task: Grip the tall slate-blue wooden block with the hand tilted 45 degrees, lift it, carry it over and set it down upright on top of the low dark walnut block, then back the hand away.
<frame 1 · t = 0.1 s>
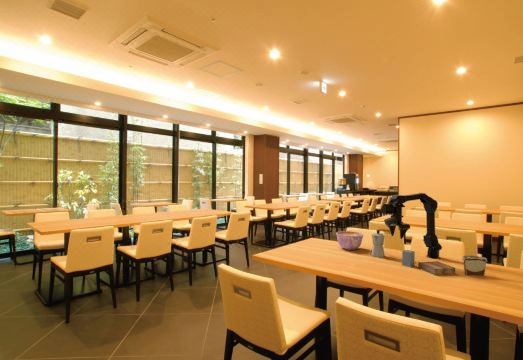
hand: (396, 237, 192), 15 cm above the table, tool pointing down, fingers open, 9 cm apart
slate block: (408, 265, 178), on the table
food container: (471, 274, 163), on the table
walnut block: (436, 271, 168), on the table
bowl of food: (349, 248, 220), on the table
coffee maker: (378, 255, 201), on the table
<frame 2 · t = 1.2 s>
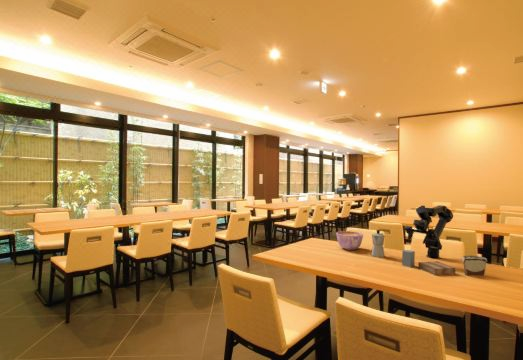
hand: (415, 241, 183), 14 cm above the table, tool tilted 45°, fingers open, 9 cm apart
nothing on the table moved.
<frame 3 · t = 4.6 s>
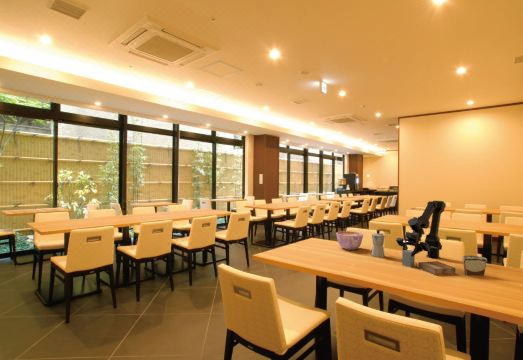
hand: (407, 255, 177), 7 cm above the table, tool tilted 45°, fingers closed on slate block, 5 cm apart
slate block: (408, 265, 178), on the table, touching gripper
everything else where it was.
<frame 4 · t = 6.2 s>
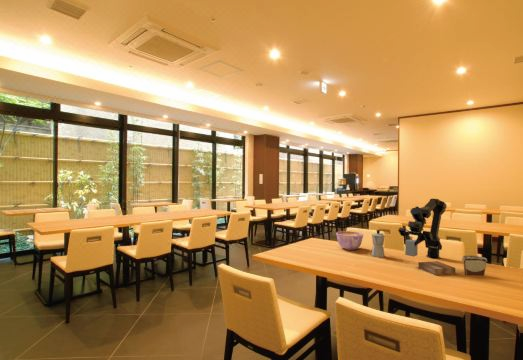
hand: (410, 244, 176), 13 cm above the table, tool tilted 45°, fingers closed on slate block, 5 cm apart
slate block: (411, 255, 176), point 7 cm above the table, touching gripper
everything else where it was.
when the fingers open (12 cm above the table, at t = 8.0 s): slate block drops 2 cm, resting on walnut block.
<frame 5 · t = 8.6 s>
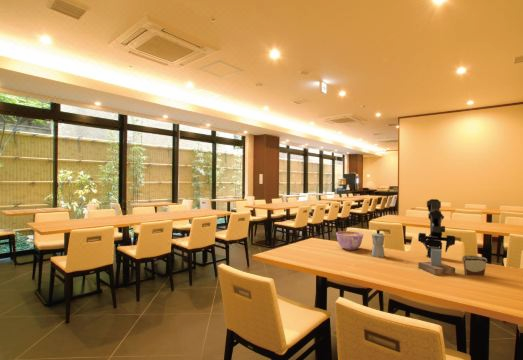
hand: (436, 250, 166), 12 cm above the table, tool tilted 45°, fingers open, 9 cm apart
slate block: (435, 264, 168), point 4 cm above the table, touching walnut block
walnut block: (436, 271, 168), on the table, touching slate block
everything else where it was.
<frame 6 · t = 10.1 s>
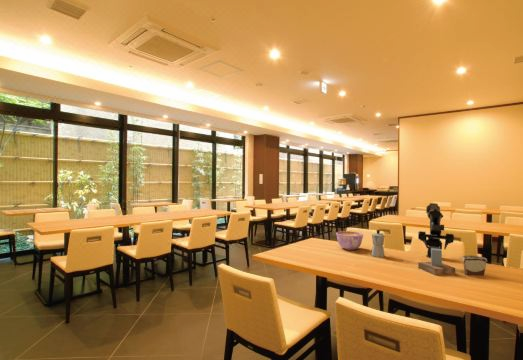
hand: (435, 248, 173), 12 cm above the table, tool tilted 45°, fingers open, 9 cm apart
slate block: (436, 264, 168), point 4 cm above the table
walnut block: (436, 271, 168), on the table
everything else where it was.
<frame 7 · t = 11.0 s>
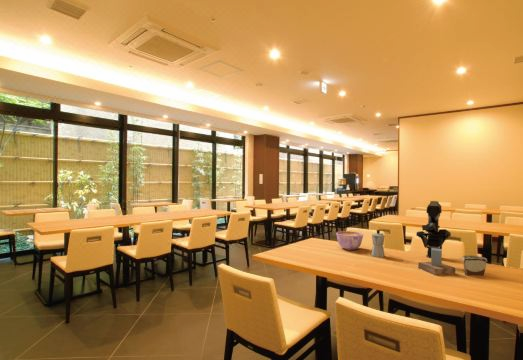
hand: (432, 247, 178), 12 cm above the table, tool tilted 30°, fingers open, 9 cm apart
nothing on the table moved.
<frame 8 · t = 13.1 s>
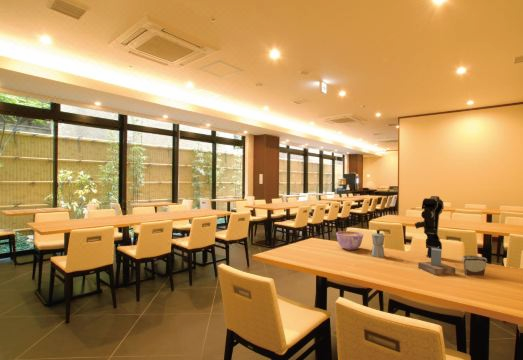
hand: (429, 242, 185), 13 cm above the table, tool pointing down, fingers open, 9 cm apart
slate block: (435, 264, 168), point 4 cm above the table, touching walnut block
walnut block: (436, 271, 168), on the table, touching slate block
everything else where it was.
at the end: slate block inside the target area on the walnut block (0.6 cm from its centre), point 4.0 cm above the walnut block's base; slate block tilted 0°; the gripper is holding nothing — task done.
